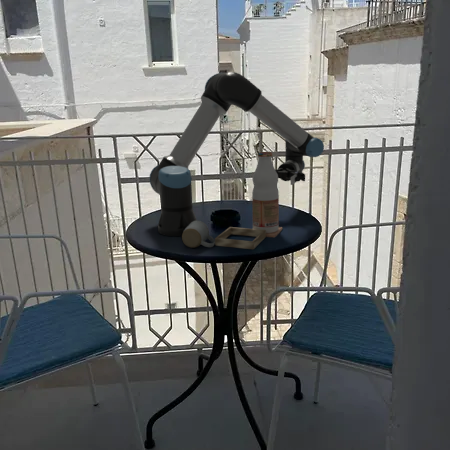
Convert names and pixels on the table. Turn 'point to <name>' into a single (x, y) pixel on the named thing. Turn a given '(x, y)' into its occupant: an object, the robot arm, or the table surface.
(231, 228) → the birch collar
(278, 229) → the terracotta tile
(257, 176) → the fruit juice
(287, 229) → the table surface
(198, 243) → the ceramic mug
